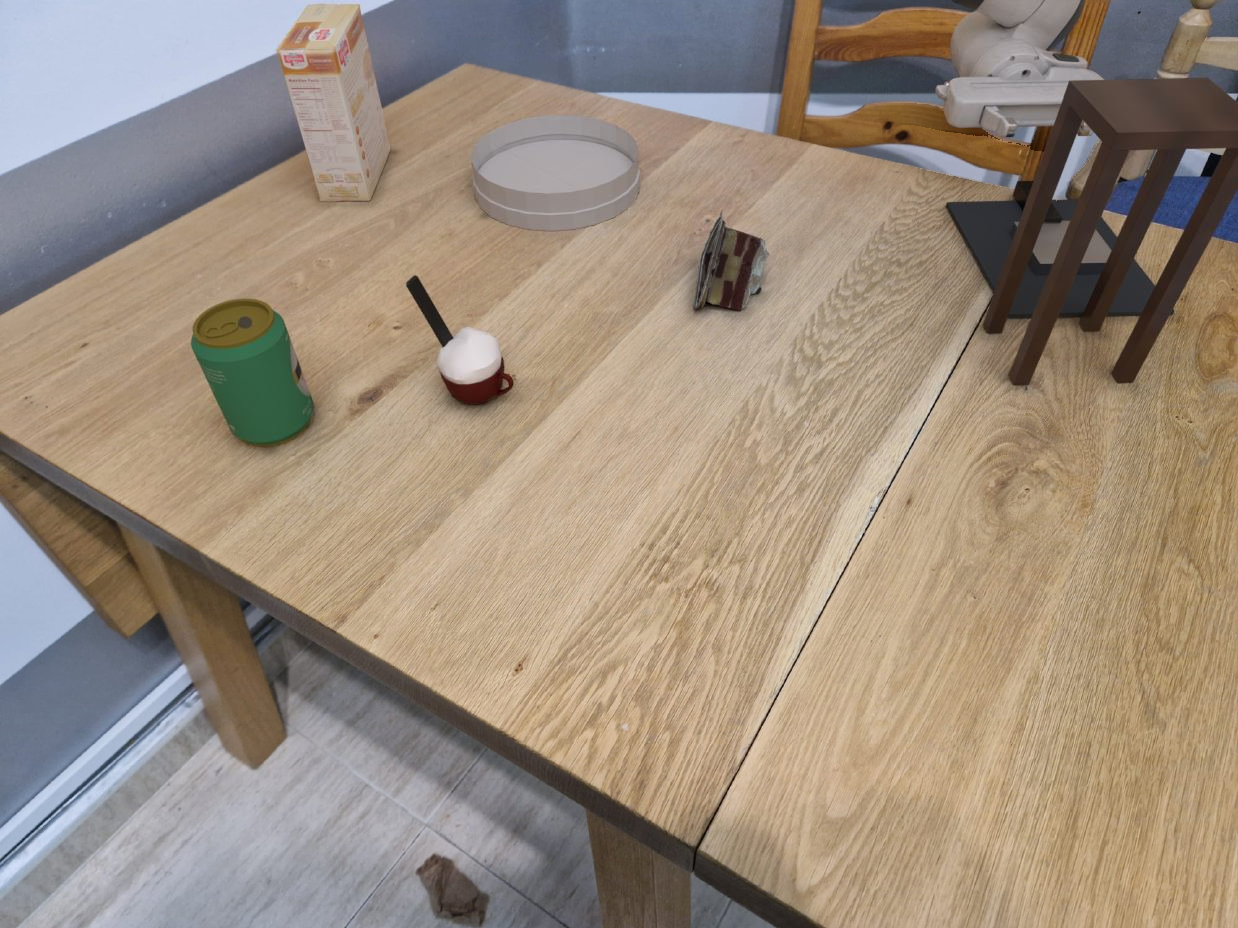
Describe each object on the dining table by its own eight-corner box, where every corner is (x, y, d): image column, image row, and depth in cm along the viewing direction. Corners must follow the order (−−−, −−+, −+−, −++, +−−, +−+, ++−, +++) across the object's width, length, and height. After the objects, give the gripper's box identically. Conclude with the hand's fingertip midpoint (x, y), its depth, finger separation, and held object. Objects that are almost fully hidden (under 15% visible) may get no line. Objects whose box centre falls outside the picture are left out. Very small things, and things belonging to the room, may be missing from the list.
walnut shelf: (1093, 322, 93) (1208, 77, 74) (1133, 382, 86) (1270, 129, 67) (982, 324, 93) (1068, 80, 74) (1013, 385, 86) (1117, 132, 67)
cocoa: (526, 400, 86) (514, 299, 77) (473, 428, 83) (455, 328, 74) (473, 355, 91) (456, 256, 82) (422, 380, 88) (398, 281, 79)
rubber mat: (1086, 203, 110) (1087, 199, 110) (1172, 315, 94) (1174, 310, 93) (945, 206, 110) (946, 201, 110) (1006, 318, 94) (1008, 314, 93)
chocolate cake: (756, 328, 94) (789, 221, 93) (695, 308, 93) (728, 200, 93) (737, 334, 103) (767, 238, 103) (681, 316, 103) (711, 219, 102)
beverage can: (326, 431, 83) (290, 331, 74) (242, 461, 80) (194, 361, 72) (304, 384, 88) (268, 285, 79) (224, 411, 85) (177, 311, 76)
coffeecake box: (343, 149, 124) (306, 3, 110) (393, 149, 124) (362, 2, 110) (317, 202, 113) (272, 48, 99) (371, 202, 113) (334, 47, 99)
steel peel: (1056, 194, 111) (1062, 180, 109) (1114, 274, 98) (1121, 258, 97) (986, 195, 111) (991, 181, 109) (1035, 275, 98) (1041, 260, 97)
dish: (674, 187, 115) (675, 151, 111) (547, 251, 104) (544, 214, 101) (565, 134, 126) (563, 100, 123) (441, 187, 116) (435, 151, 112)
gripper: (937, 59, 110) (969, 106, 101) (1096, 57, 110) (1144, 103, 101) (925, 108, 115) (955, 157, 105) (1078, 105, 115) (1121, 154, 105)
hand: (1048, 131), depth 103 cm, fingers open, 8 cm apart
